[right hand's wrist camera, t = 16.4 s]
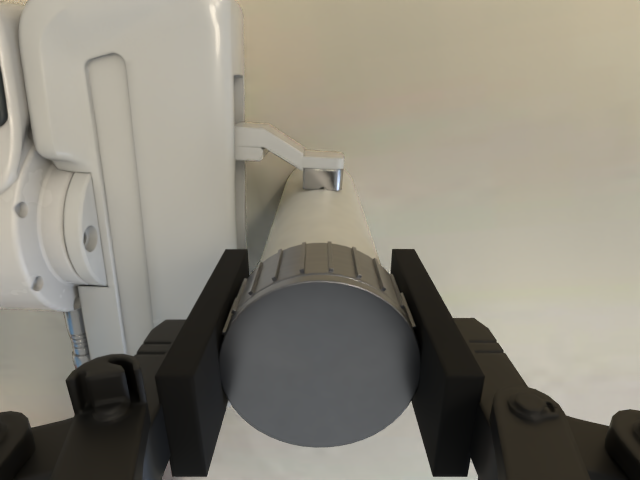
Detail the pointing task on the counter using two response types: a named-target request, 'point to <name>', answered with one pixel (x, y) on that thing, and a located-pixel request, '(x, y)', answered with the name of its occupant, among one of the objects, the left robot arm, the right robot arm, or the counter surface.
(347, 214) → the jar
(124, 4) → the left robot arm
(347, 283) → the lid
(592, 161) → the counter surface
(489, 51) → the counter surface
